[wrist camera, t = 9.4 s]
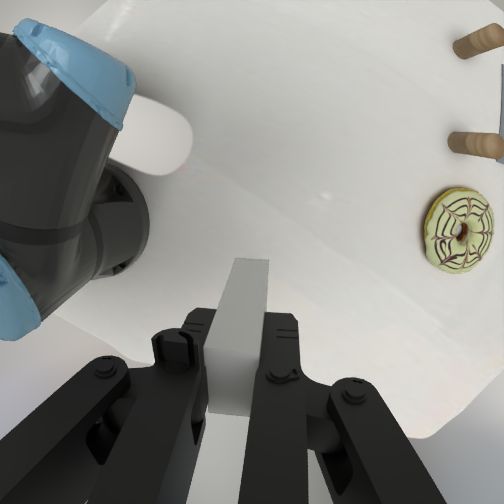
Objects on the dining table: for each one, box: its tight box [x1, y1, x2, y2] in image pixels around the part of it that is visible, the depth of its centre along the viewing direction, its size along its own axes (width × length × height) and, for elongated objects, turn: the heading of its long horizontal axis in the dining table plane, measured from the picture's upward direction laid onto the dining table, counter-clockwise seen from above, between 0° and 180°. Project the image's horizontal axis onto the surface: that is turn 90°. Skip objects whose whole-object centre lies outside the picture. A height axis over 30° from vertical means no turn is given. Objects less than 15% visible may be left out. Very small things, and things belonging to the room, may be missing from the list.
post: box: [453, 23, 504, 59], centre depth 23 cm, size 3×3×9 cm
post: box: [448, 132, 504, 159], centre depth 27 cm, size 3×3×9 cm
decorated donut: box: [424, 188, 494, 274], centre depth 33 cm, size 10×11×4 cm
